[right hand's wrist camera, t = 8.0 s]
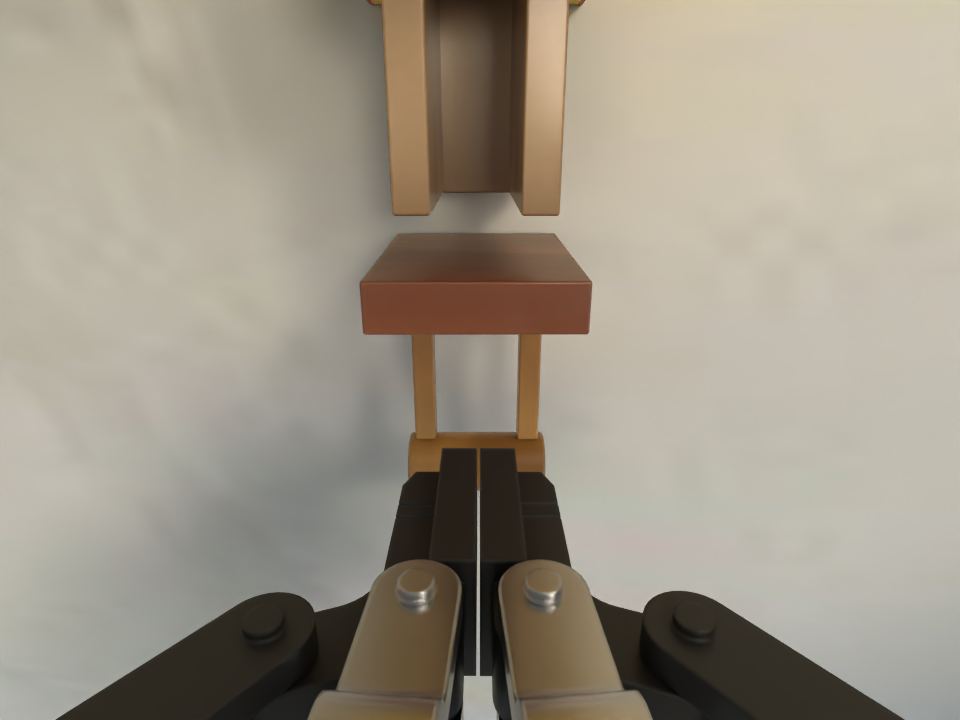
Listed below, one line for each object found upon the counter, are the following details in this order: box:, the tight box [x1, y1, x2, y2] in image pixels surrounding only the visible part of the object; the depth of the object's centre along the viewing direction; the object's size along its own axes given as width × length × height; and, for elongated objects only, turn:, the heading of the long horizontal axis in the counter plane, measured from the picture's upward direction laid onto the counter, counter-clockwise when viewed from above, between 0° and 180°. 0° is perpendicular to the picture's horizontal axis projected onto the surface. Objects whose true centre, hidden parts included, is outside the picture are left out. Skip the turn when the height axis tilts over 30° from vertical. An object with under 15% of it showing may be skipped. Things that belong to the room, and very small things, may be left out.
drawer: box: [360, 0, 592, 491], centre depth 14 cm, size 23×5×7 cm, turn 0°
